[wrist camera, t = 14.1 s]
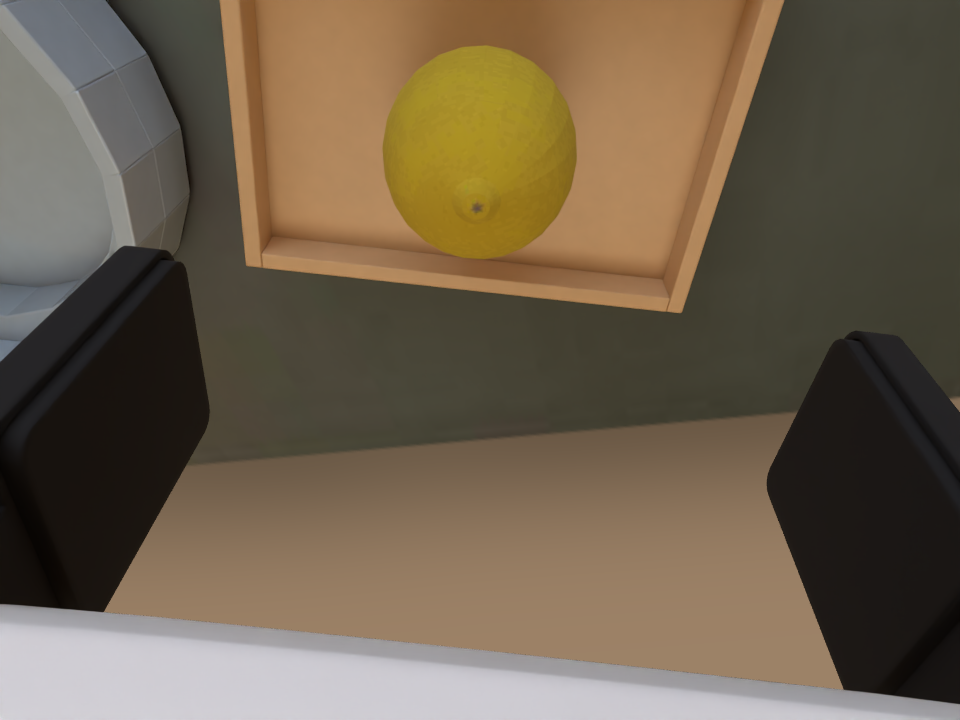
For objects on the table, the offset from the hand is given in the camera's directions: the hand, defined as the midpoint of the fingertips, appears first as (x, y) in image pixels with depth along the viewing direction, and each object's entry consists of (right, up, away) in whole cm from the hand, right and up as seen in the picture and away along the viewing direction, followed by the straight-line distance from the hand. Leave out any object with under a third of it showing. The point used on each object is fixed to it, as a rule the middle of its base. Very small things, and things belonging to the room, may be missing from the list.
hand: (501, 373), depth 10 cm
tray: (0, +9, +13) cm, 16 cm away
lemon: (0, +9, +13) cm, 16 cm away
